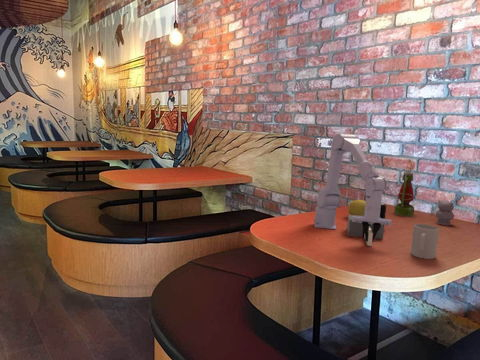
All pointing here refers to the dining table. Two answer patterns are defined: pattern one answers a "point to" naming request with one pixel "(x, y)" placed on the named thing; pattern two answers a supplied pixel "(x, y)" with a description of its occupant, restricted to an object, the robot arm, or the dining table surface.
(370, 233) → the pale narrow strip
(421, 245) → the mug
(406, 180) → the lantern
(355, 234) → the panel
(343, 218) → the dining table surface
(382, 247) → the dining table surface
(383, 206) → the beverage can
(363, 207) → the fruit
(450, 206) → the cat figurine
